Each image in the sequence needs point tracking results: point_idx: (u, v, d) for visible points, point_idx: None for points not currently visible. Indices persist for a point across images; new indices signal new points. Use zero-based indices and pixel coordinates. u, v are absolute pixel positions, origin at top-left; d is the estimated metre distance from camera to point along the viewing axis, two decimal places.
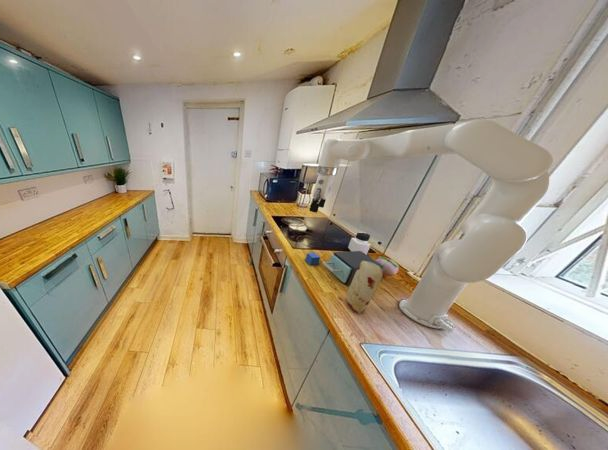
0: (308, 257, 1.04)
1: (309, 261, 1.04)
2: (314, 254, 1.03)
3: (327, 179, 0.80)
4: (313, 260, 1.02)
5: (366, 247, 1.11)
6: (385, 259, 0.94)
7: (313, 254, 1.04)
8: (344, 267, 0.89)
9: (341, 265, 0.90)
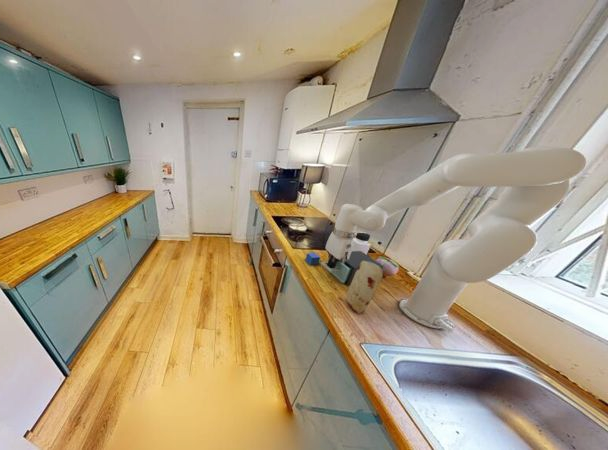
0: (308, 257, 1.04)
1: (309, 261, 1.04)
2: (314, 254, 1.03)
3: None
4: (313, 260, 1.02)
5: (366, 247, 1.11)
6: (385, 259, 0.94)
7: (313, 254, 1.04)
8: (343, 267, 0.89)
9: (340, 265, 0.90)
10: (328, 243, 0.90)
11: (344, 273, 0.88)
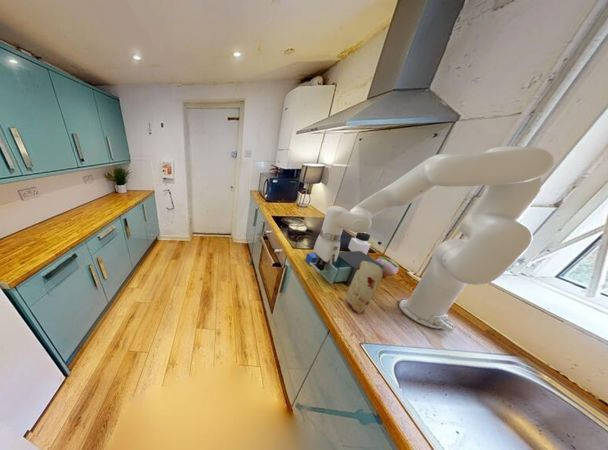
0: (308, 257, 1.04)
1: (309, 261, 1.04)
2: (314, 254, 1.03)
3: (339, 244, 0.82)
4: (313, 260, 1.02)
5: (366, 247, 1.11)
6: (385, 259, 0.94)
7: (313, 254, 1.04)
8: (331, 268, 0.88)
9: (328, 266, 0.89)
10: (316, 245, 0.90)
11: (332, 274, 0.87)
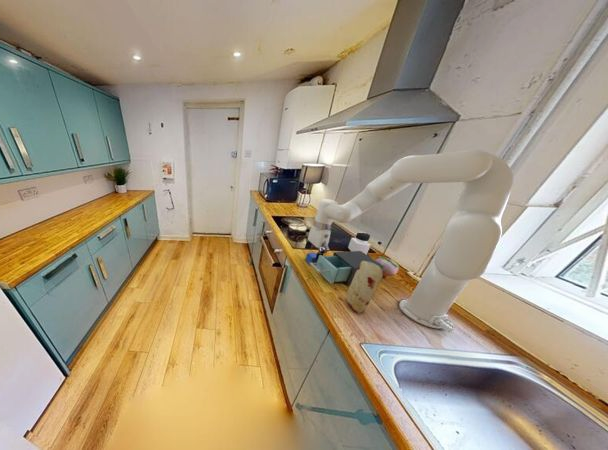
0: (308, 257, 1.04)
1: (309, 261, 1.04)
2: (314, 254, 1.03)
3: None
4: (313, 260, 1.02)
5: (366, 247, 1.11)
6: (385, 259, 0.94)
7: (313, 254, 1.04)
8: (331, 268, 0.88)
9: (328, 266, 0.90)
10: (310, 234, 1.02)
11: (332, 274, 0.87)
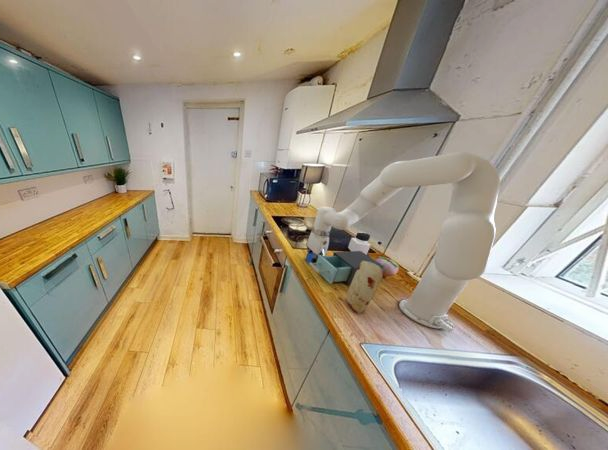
0: (308, 257, 1.04)
1: (309, 261, 1.04)
2: (314, 254, 1.03)
3: (328, 239, 0.95)
4: None
5: (366, 247, 1.11)
6: (385, 259, 0.94)
7: (313, 254, 1.04)
8: (330, 268, 0.88)
9: (328, 266, 0.89)
10: (309, 241, 1.03)
11: (332, 274, 0.87)
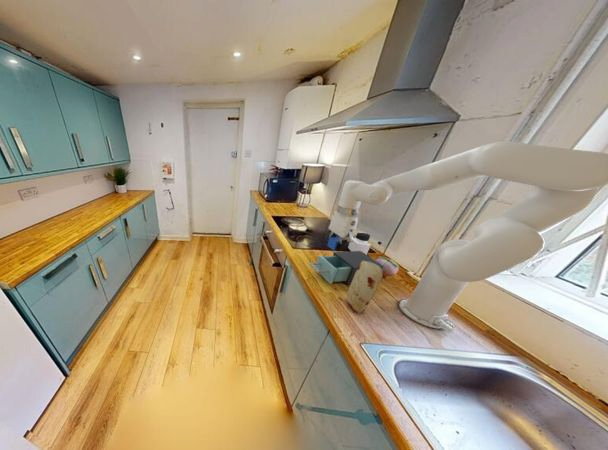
0: (331, 242, 0.90)
1: (332, 246, 0.89)
2: (338, 239, 0.89)
3: (357, 219, 0.81)
4: None
5: (366, 247, 1.11)
6: (385, 259, 0.94)
7: (337, 238, 0.89)
8: (330, 268, 0.88)
9: (328, 266, 0.89)
10: (332, 223, 0.89)
11: (332, 274, 0.87)
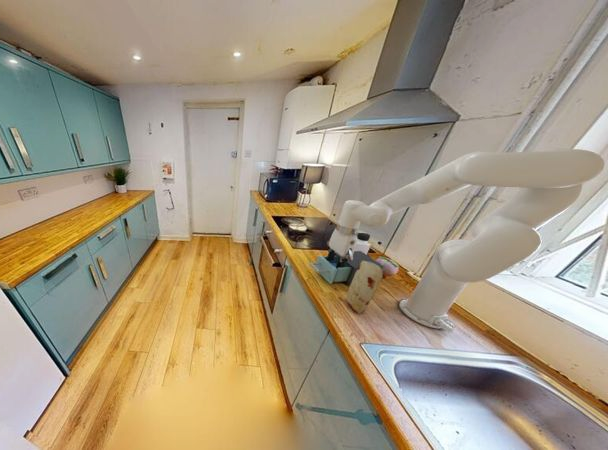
0: None
1: None
2: (334, 265, 0.92)
3: None
4: None
5: (366, 247, 1.11)
6: (385, 259, 0.94)
7: (333, 264, 0.92)
8: (330, 268, 0.88)
9: (328, 266, 0.89)
10: (331, 240, 0.90)
11: (332, 274, 0.87)
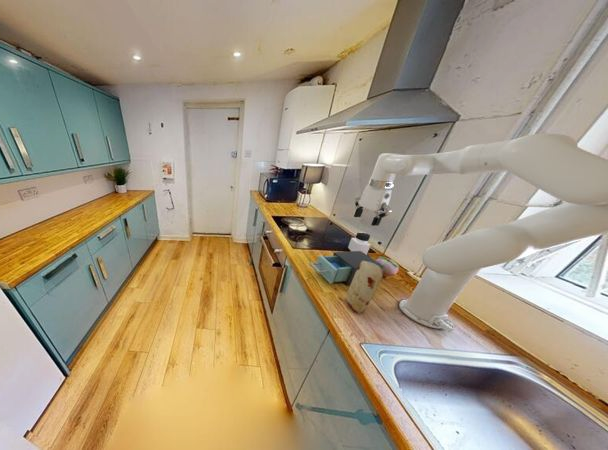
0: None
1: None
2: (334, 265, 0.92)
3: (391, 192, 0.81)
4: None
5: (366, 247, 1.11)
6: (385, 259, 0.94)
7: (333, 264, 0.92)
8: (331, 268, 0.88)
9: (328, 266, 0.89)
10: (362, 198, 0.89)
11: (332, 274, 0.87)
